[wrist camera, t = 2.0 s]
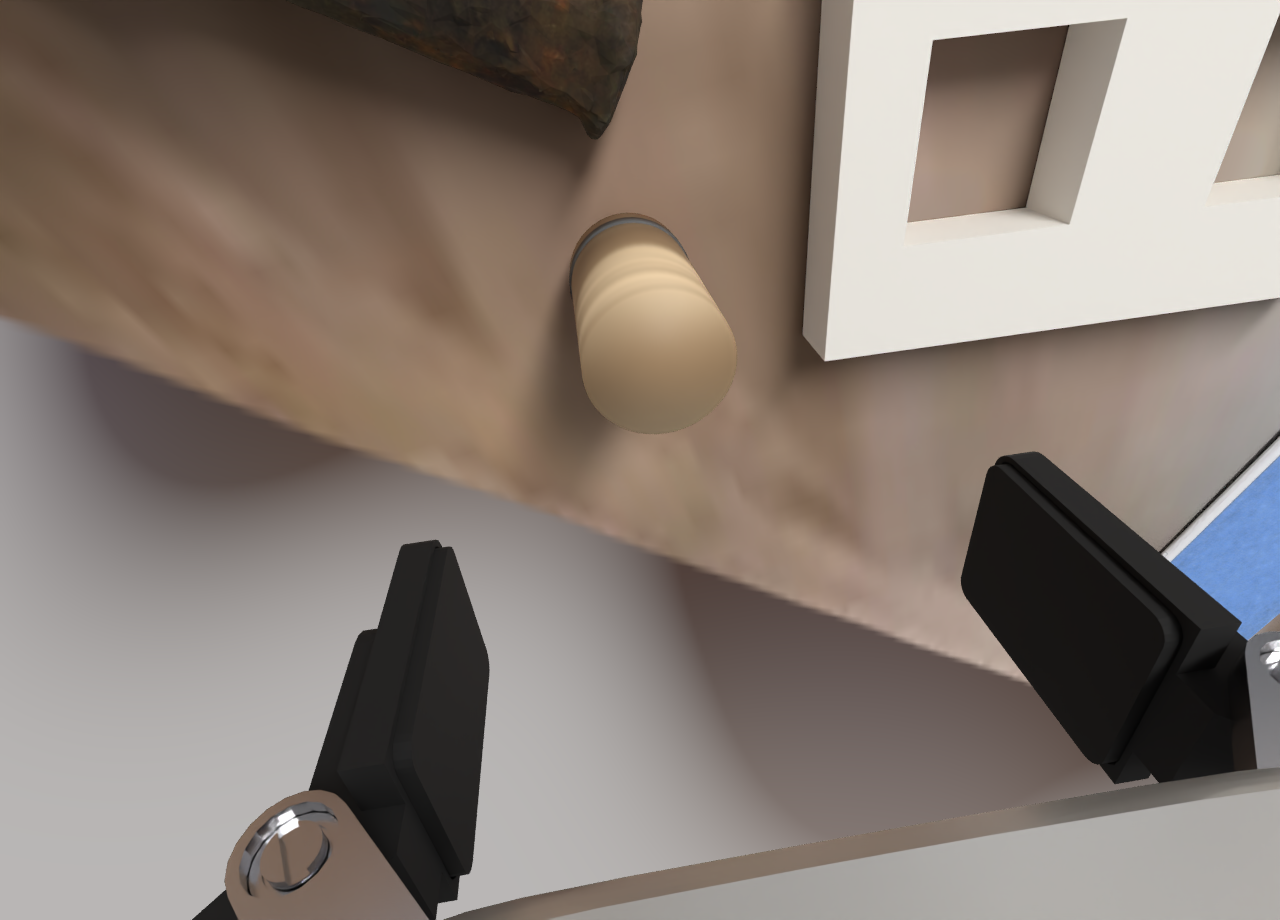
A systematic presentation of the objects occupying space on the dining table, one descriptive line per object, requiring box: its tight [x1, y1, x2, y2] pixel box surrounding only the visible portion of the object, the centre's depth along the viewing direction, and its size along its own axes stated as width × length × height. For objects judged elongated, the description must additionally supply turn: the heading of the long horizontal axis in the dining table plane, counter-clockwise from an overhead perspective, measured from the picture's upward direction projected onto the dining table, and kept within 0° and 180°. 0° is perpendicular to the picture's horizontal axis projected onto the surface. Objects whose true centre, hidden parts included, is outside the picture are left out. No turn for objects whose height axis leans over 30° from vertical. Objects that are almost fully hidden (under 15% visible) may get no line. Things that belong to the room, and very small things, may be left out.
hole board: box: [803, 0, 1280, 361], centre depth 22 cm, size 14×22×2 cm, turn 95°
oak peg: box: [569, 213, 737, 434], centre depth 20 cm, size 4×4×9 cm
